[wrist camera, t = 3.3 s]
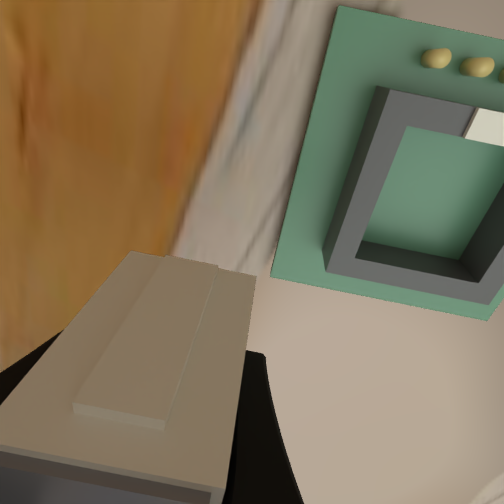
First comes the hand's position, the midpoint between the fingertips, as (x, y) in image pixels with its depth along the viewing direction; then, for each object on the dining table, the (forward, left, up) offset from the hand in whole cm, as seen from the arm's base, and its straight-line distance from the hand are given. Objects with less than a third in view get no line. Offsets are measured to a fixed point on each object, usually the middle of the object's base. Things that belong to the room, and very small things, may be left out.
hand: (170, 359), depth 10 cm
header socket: (+4, -9, -9) cm, 13 cm away
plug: (0, 0, -2) cm, 2 cm away
